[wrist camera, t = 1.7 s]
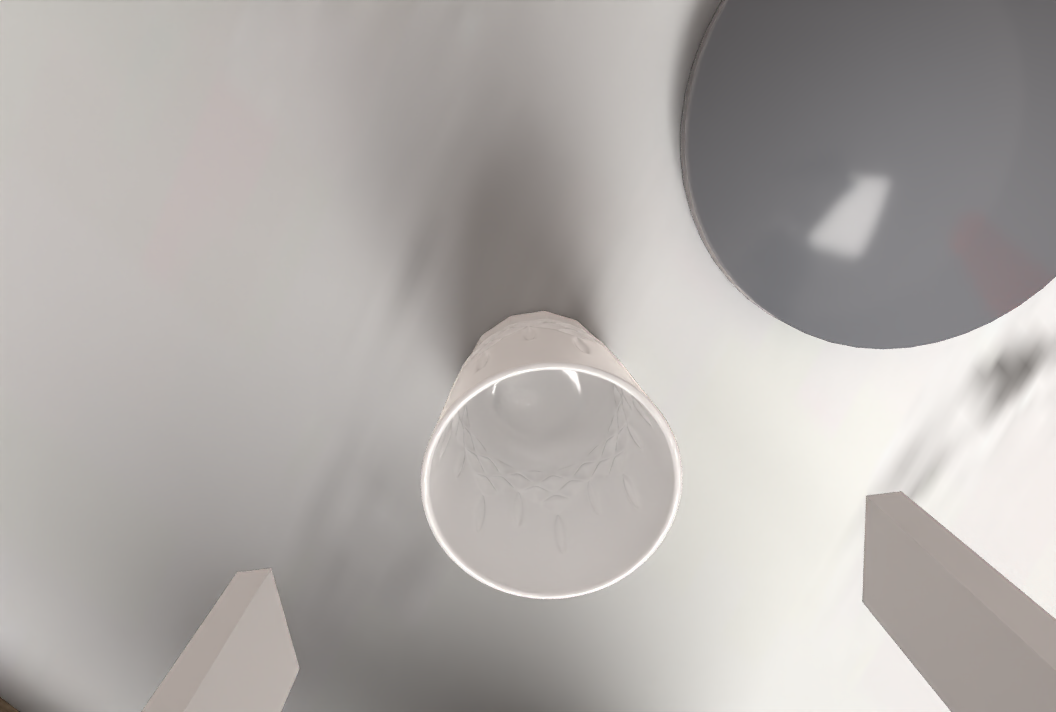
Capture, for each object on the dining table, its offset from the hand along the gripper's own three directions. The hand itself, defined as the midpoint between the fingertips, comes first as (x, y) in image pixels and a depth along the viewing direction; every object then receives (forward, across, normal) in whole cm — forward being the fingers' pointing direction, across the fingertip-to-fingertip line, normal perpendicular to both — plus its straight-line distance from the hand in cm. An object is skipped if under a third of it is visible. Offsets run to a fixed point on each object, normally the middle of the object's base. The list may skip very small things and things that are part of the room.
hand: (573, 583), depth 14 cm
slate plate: (+15, -16, -8) cm, 23 cm away
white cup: (+15, 0, 0) cm, 15 cm away
